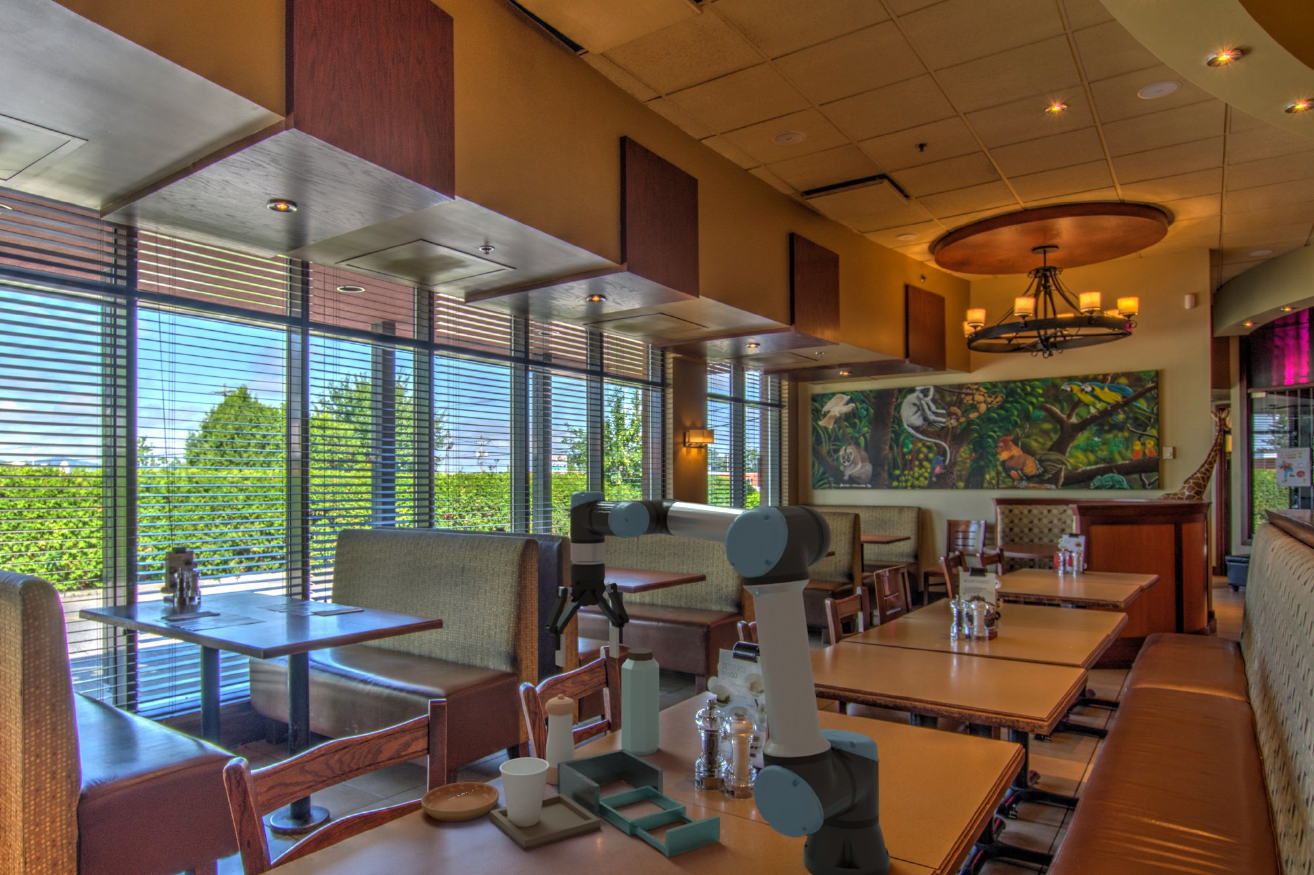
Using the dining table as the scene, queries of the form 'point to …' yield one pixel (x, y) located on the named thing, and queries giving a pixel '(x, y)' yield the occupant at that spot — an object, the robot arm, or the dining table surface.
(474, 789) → the saucer
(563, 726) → the pepper shaker
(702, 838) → the caddy
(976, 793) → the dining table surface
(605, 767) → the cubby
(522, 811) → the cup
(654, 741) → the water bottle
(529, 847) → the tray
